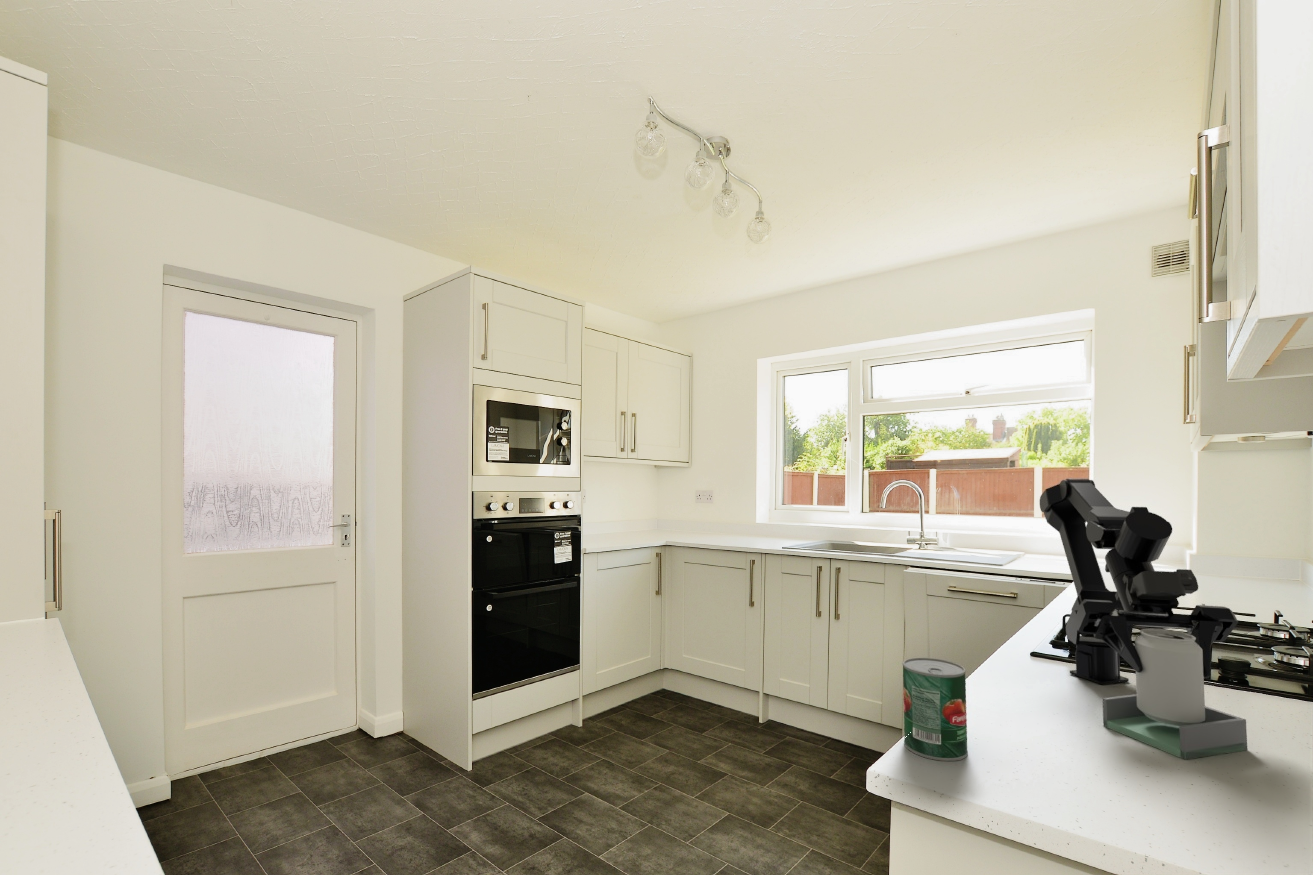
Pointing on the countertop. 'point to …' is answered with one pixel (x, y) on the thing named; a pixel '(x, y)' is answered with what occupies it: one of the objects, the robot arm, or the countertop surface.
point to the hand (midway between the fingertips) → (1173, 673)
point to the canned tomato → (935, 708)
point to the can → (1170, 677)
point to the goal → (1177, 730)
